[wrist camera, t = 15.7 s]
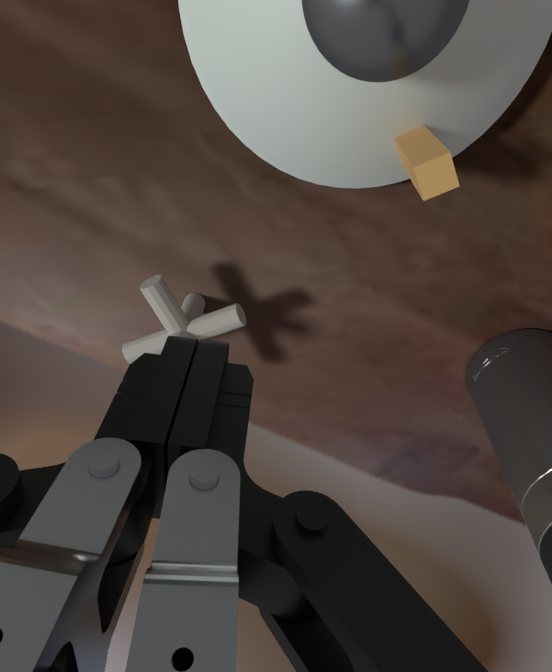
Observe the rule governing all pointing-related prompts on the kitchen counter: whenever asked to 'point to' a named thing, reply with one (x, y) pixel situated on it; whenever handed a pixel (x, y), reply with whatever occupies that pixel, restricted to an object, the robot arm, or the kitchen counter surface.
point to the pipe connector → (180, 319)
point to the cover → (382, 34)
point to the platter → (360, 91)
